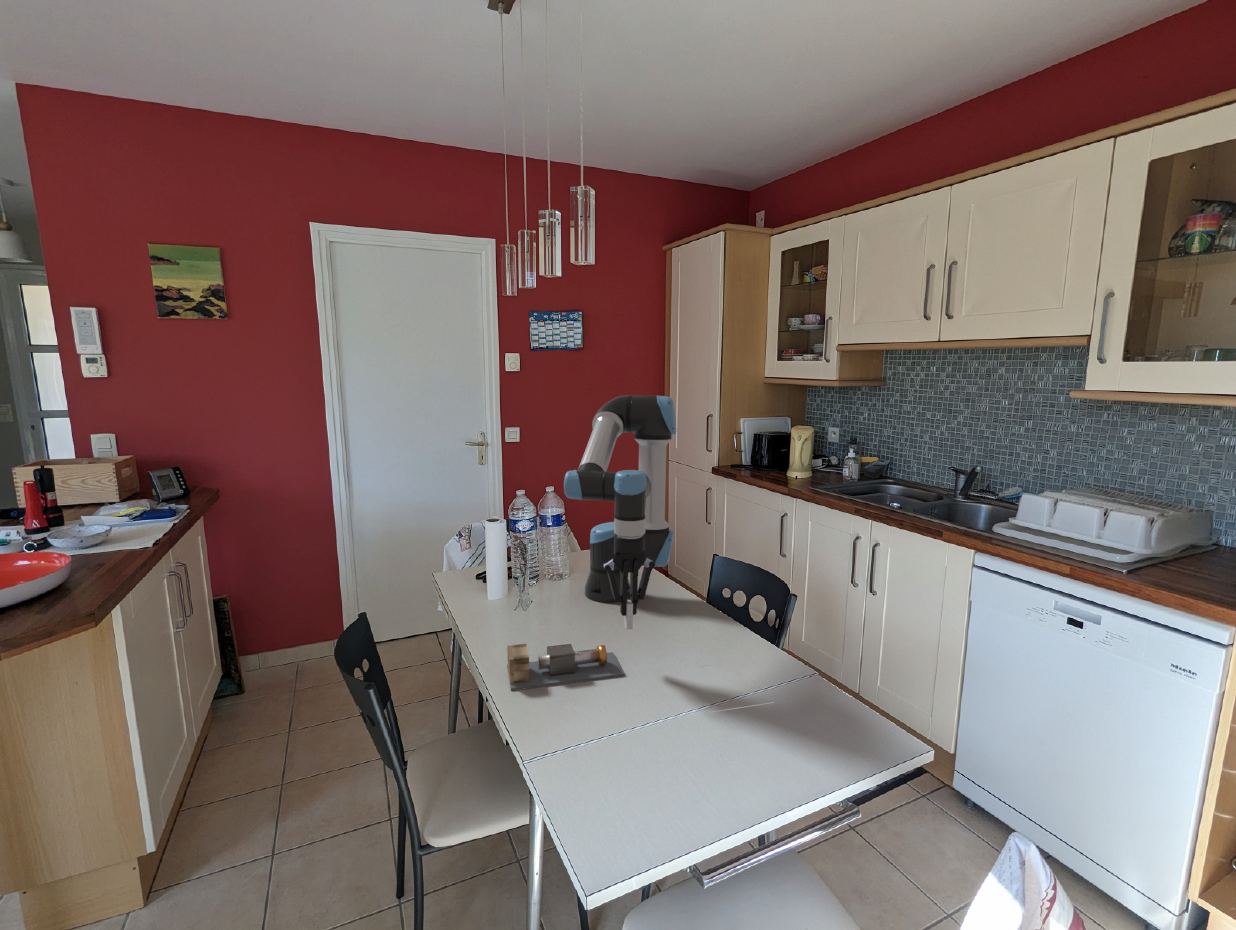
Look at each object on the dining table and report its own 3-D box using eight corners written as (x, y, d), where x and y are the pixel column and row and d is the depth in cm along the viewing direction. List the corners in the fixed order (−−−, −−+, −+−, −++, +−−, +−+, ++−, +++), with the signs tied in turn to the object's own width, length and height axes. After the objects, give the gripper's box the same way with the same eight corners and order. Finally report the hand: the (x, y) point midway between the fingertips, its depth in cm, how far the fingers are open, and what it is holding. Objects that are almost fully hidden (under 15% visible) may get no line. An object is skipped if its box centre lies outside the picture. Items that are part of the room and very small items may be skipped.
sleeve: (571, 662, 146) (571, 643, 145) (575, 673, 141) (574, 653, 141) (547, 665, 145) (546, 646, 144) (550, 676, 140) (549, 656, 139)
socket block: (526, 666, 144) (525, 643, 143) (529, 681, 138) (529, 657, 137) (507, 668, 143) (507, 645, 142) (510, 683, 137) (509, 659, 136)
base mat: (613, 654, 152) (613, 652, 152) (624, 675, 142) (624, 673, 142) (507, 666, 145) (507, 664, 145) (510, 690, 135) (510, 688, 135)
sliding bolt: (602, 658, 148) (602, 641, 147) (607, 667, 144) (607, 650, 143) (537, 666, 144) (537, 649, 143) (539, 676, 140) (539, 658, 139)
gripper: (650, 529, 147) (648, 618, 151) (599, 532, 144) (599, 623, 147) (660, 537, 140) (658, 630, 143) (607, 540, 137) (606, 636, 140)
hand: (628, 626), depth 145 cm, fingers closed
